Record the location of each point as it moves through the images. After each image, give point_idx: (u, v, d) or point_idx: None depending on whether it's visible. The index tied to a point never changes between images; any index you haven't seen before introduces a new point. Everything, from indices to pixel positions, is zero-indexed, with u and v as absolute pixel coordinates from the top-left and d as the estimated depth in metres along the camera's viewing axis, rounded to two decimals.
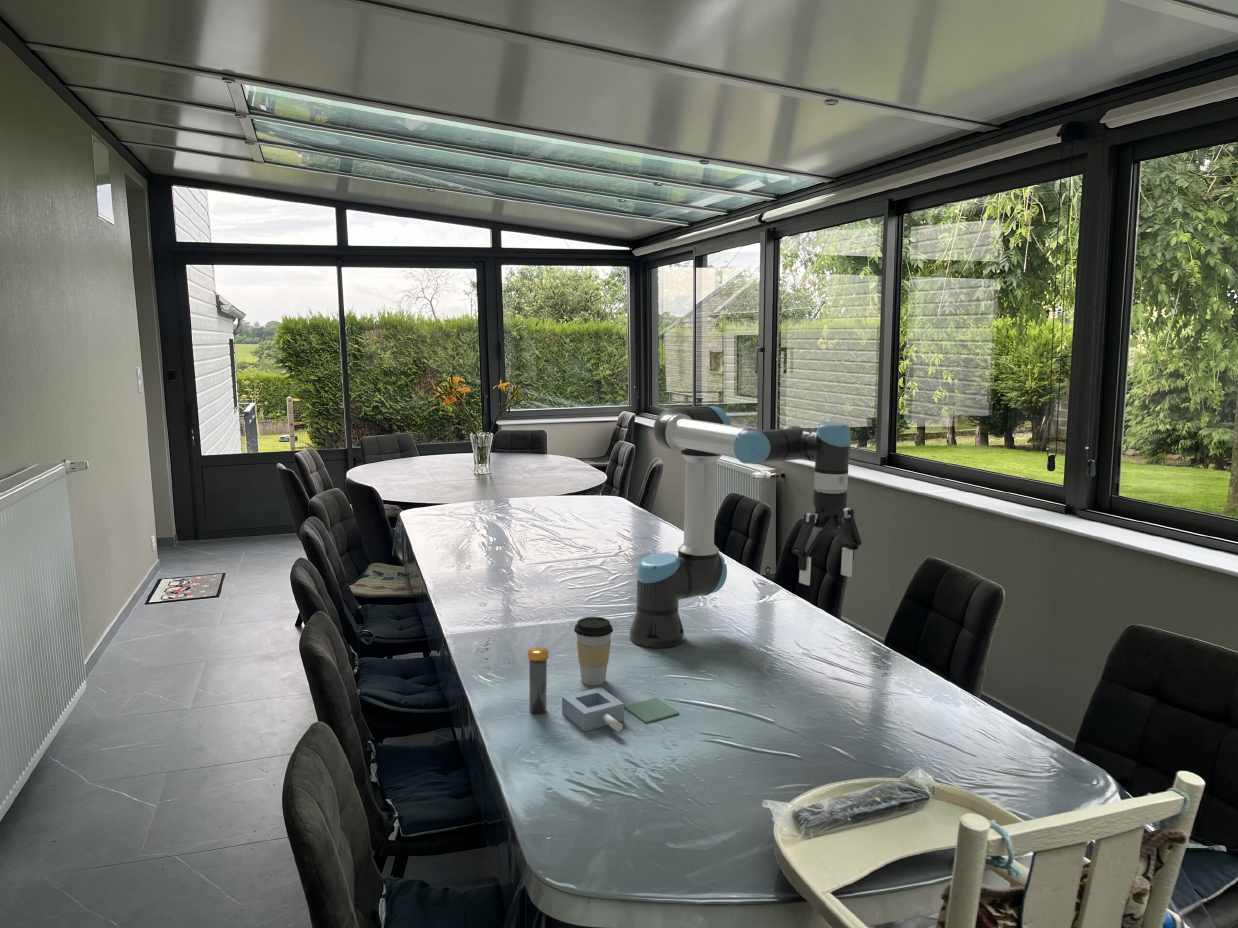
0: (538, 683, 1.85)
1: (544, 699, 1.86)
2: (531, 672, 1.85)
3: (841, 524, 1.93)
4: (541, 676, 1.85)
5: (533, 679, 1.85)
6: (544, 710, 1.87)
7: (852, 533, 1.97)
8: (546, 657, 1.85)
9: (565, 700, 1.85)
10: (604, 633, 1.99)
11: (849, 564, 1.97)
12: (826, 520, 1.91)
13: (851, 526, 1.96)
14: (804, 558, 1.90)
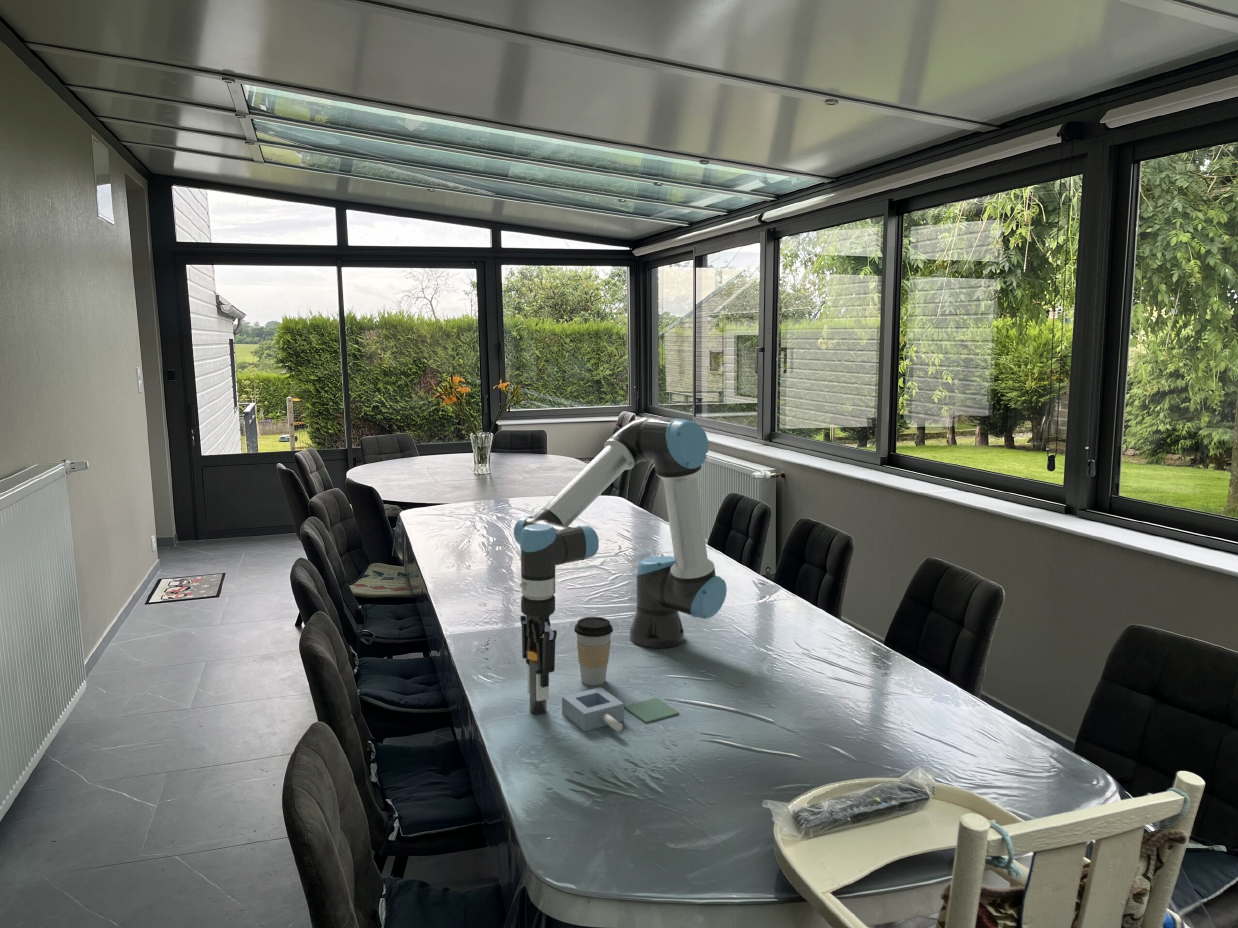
0: None
1: None
2: (531, 672, 1.85)
3: (534, 634, 1.83)
4: None
5: (534, 679, 1.85)
6: (544, 710, 1.87)
7: None
8: None
9: (565, 700, 1.85)
10: (604, 633, 1.99)
11: None
12: None
13: None
14: (528, 664, 1.89)
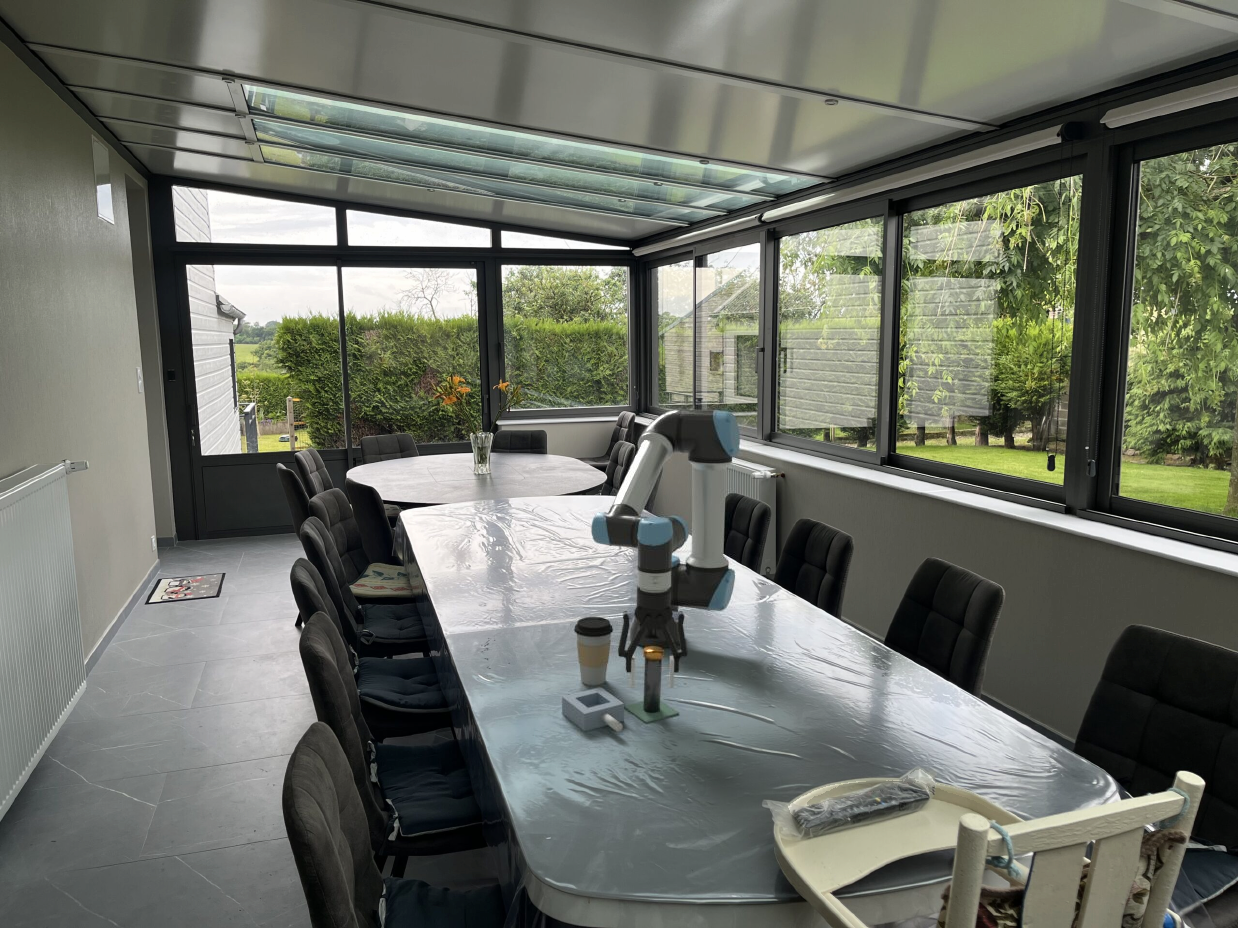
0: (660, 680, 1.87)
1: None
2: (655, 672, 1.85)
3: (662, 626, 1.84)
4: None
5: (658, 677, 1.86)
6: None
7: (679, 641, 1.86)
8: None
9: (565, 700, 1.85)
10: (604, 633, 1.99)
11: (670, 675, 1.86)
12: (644, 619, 1.84)
13: (678, 632, 1.85)
14: (628, 660, 1.86)
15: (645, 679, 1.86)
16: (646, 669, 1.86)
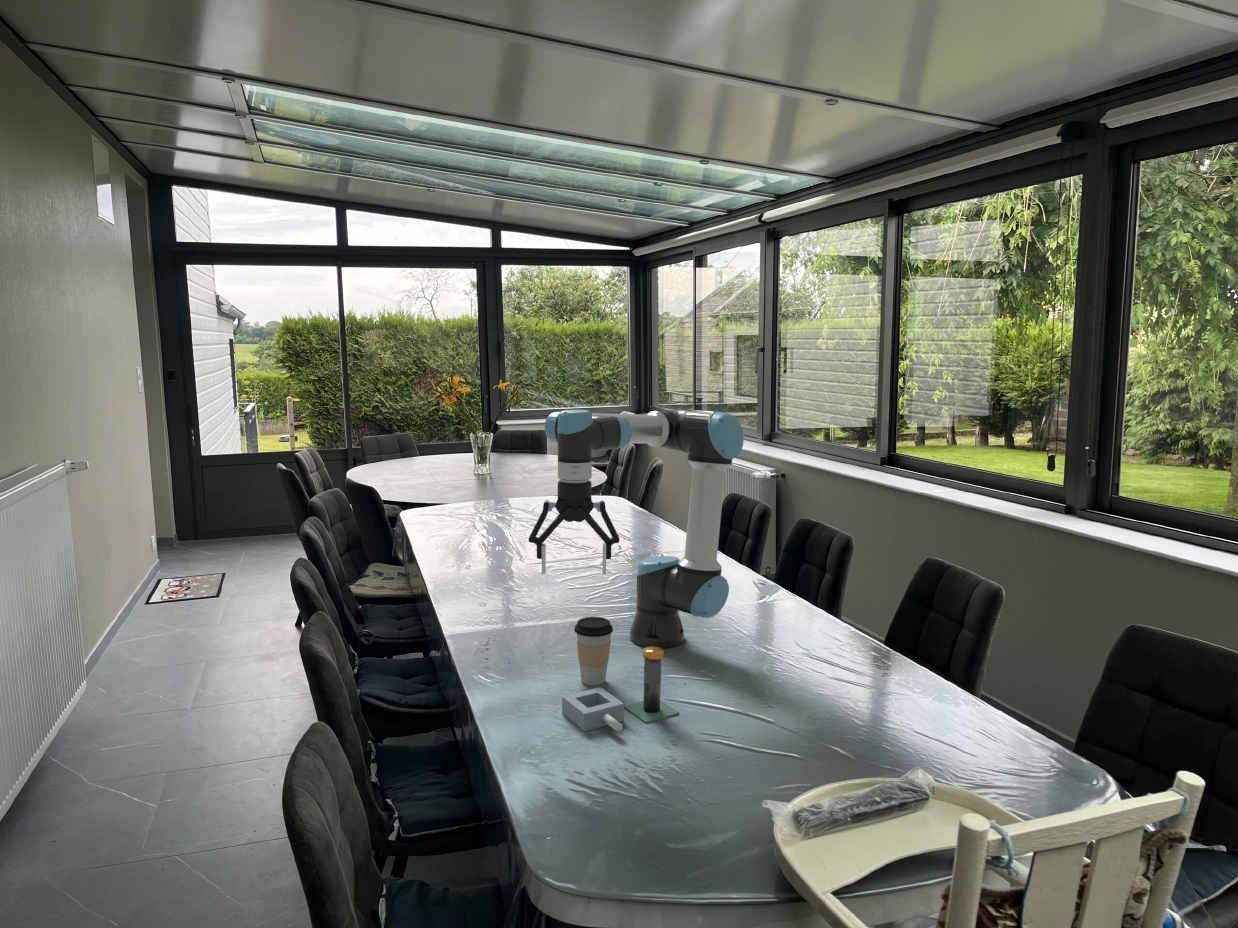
0: (660, 680, 1.87)
1: None
2: (655, 672, 1.85)
3: (585, 517, 1.84)
4: None
5: (657, 678, 1.86)
6: None
7: None
8: None
9: (565, 700, 1.85)
10: (604, 633, 1.99)
11: None
12: (564, 510, 1.84)
13: (604, 521, 1.85)
14: (538, 546, 1.86)
15: (645, 679, 1.86)
16: (646, 669, 1.86)
